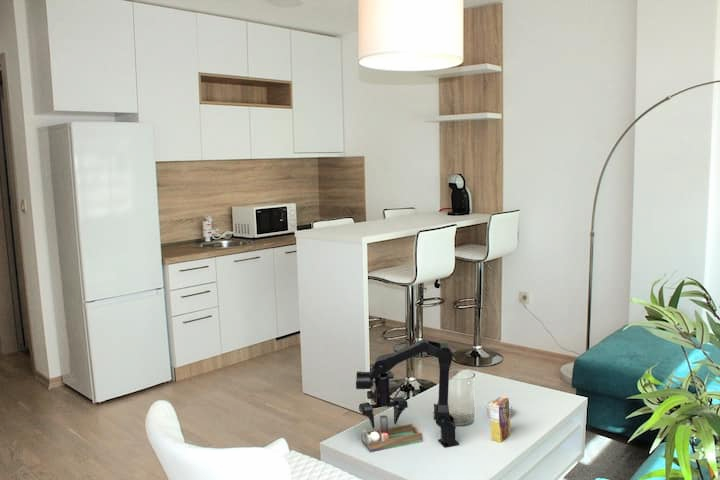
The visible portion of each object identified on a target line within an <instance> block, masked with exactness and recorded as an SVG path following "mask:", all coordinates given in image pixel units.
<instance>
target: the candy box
mask: <svg viewBox="0 0 720 480" xmlns="http://www.w3.org/2000/svg"><path fill="white" fill-rule="evenodd" d="M494 400H495V401H493V400H492V401H493V402H492V403H491V404H490V417H491V418H490V433H491V434H490V435H491V441H493V442H497V443H502V442H503V441H504V440H506V439H507V438H508V437H509V436H510V435H511V420H510V418H511V415H510V416H509V403H510V401H509V397H504V396H499V397H498V398H496V399H494Z"/></svg>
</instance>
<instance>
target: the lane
mask: <svg viewBox="0 0 720 480" xmlns="http://www.w3.org/2000/svg"><path fill="white" fill-rule="evenodd" d="M372 432H377V433H378V434H379V432H378V429H377V425H376V424H374V429H373V428H372V431H367V430H366V428H363V429H362V431H361V442H362V444H363V445H364V446H365V448H366V449H367V450H368V451H369V453H374V452H380V451H383V450H389V449H393V448H398V447H403V446H404V447H405V446H409V445H414V444H419V443H422V442H423V433H422V432H421V431H420V429H419V428H417V427H416V426H415V425H414V423H408V424H403V425H399V426H393V427H388V432H387V434H388V439H385V440H384V434H381V439H380V440H379V441H375V442H371V436H370V433H372Z"/></svg>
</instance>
